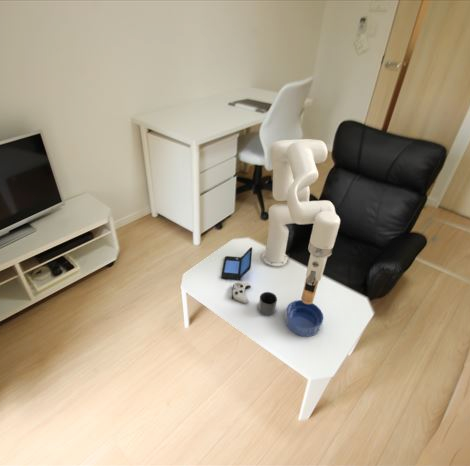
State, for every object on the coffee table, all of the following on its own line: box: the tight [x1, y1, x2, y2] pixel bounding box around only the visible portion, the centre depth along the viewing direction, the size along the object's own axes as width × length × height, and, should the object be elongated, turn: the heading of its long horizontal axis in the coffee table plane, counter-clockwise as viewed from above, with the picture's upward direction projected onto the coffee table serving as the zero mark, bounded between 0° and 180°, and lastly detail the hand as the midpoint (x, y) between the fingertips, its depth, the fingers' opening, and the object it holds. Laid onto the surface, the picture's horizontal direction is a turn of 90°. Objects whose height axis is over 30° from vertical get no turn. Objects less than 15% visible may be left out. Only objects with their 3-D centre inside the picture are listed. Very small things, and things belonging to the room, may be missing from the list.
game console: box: [220, 246, 253, 282], centre depth 150 cm, size 16×13×9 cm
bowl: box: [284, 299, 324, 338], centre depth 126 cm, size 14×14×6 cm
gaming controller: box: [231, 281, 251, 305], centre depth 139 cm, size 11×6×7 cm
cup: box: [258, 291, 278, 316], centre depth 131 cm, size 7×7×7 cm
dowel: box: [300, 277, 320, 304], centre depth 116 cm, size 4×4×12 cm
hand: (310, 285), depth 115 cm, fingers closed on dowel, 4 cm apart
